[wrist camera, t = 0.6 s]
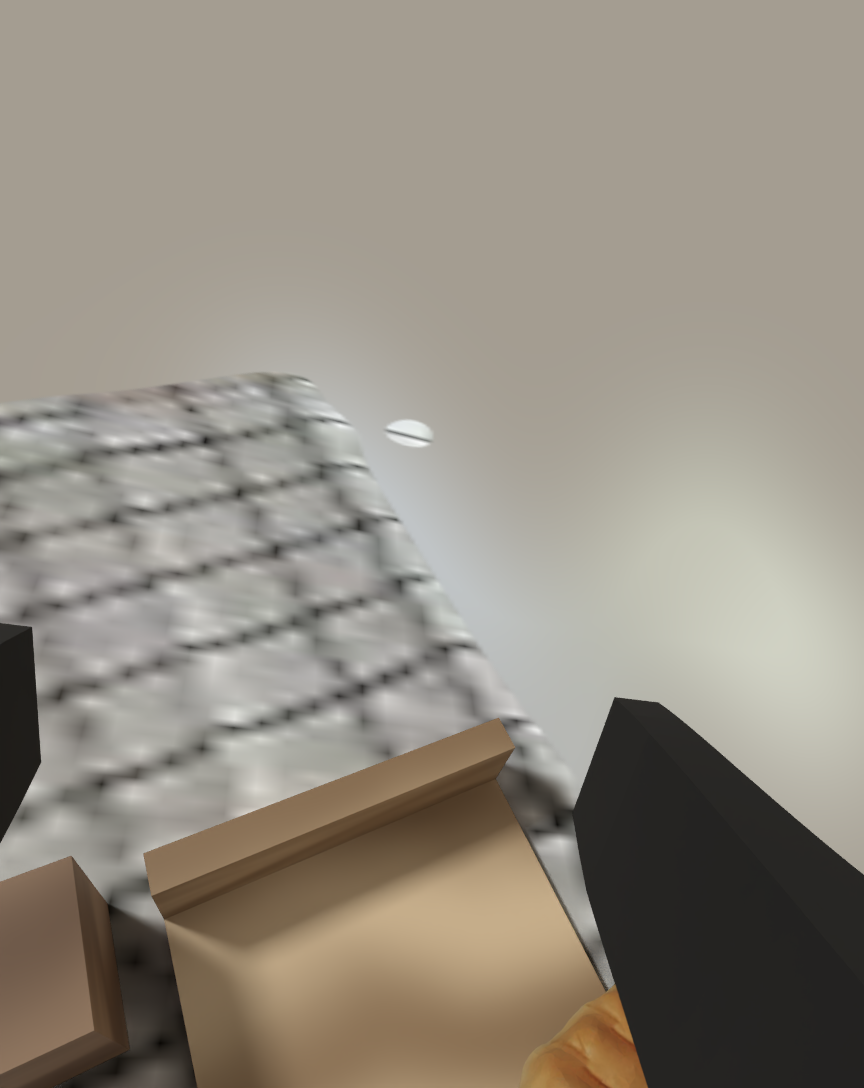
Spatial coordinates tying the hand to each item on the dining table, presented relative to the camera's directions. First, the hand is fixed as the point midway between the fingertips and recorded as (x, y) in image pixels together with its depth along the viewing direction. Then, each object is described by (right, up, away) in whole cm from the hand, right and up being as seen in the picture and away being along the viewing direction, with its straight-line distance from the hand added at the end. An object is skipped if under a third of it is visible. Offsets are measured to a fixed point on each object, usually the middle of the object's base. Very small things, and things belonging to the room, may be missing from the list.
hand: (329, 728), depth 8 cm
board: (+1, -13, +11) cm, 17 cm away
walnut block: (-10, -11, +10) cm, 18 cm away
